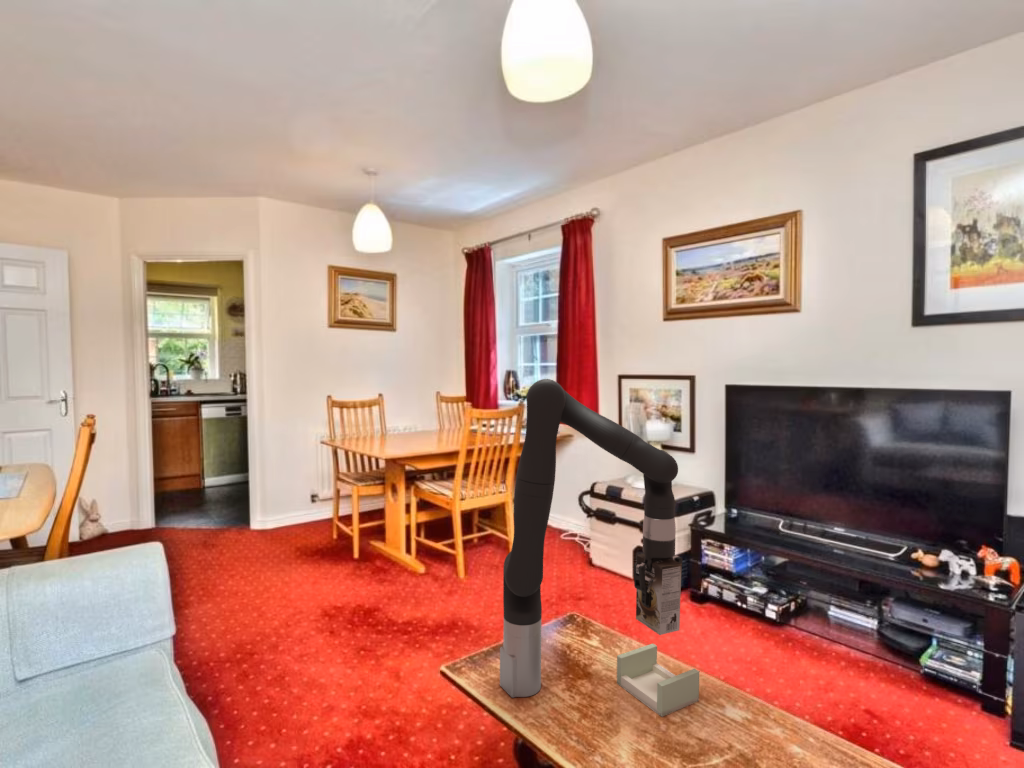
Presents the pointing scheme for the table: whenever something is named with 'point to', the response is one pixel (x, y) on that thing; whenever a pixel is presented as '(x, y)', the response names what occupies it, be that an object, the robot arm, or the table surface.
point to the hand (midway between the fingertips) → (657, 603)
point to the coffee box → (661, 597)
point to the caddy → (656, 681)
